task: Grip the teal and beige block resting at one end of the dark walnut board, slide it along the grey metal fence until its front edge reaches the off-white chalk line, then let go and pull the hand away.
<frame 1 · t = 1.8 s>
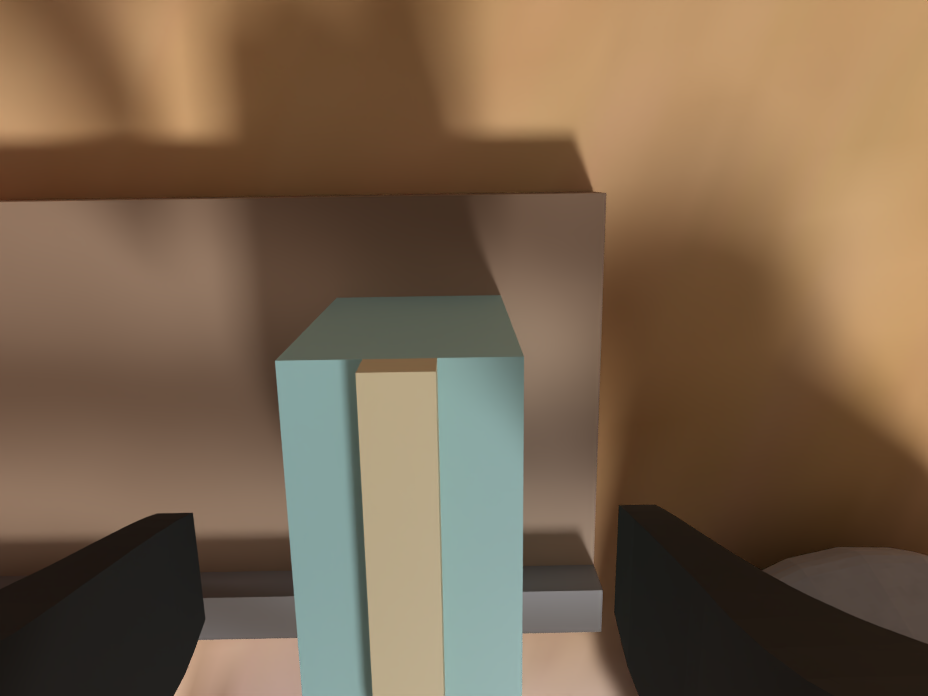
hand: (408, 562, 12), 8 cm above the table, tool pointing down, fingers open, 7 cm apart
board: (170, 402, 19), on the table
teal and beige block: (422, 431, 18), point 1 cm above the table, touching board
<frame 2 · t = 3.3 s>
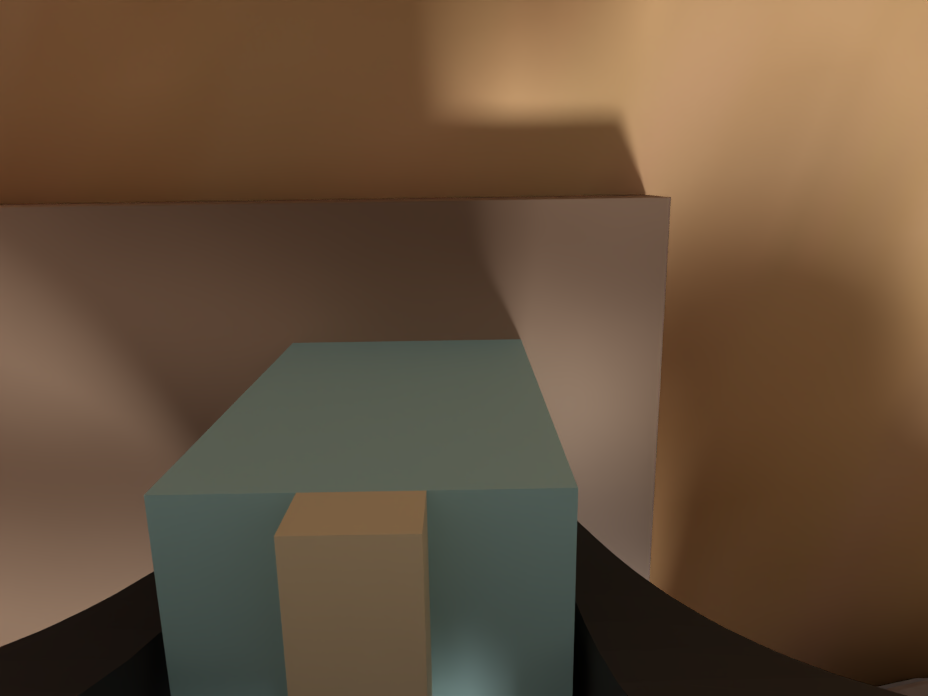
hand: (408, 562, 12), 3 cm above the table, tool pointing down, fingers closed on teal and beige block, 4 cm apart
board: (78, 475, 14), on the table
teal and beige block: (413, 522, 13), point 1 cm above the table, touching board, gripper
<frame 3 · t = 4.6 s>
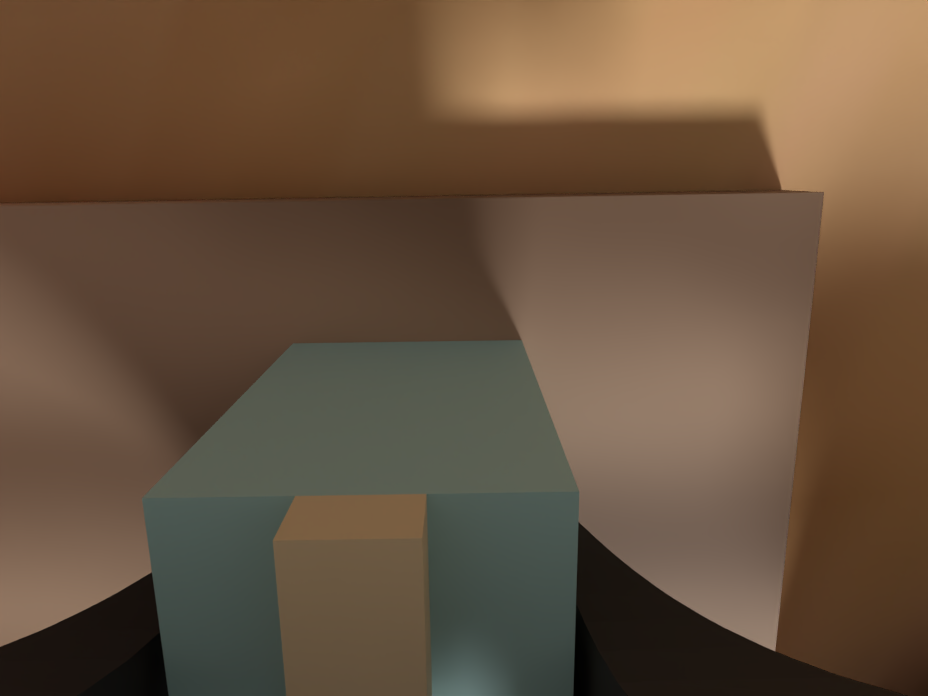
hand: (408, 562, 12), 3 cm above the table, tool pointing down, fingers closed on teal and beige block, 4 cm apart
board: (201, 472, 14), on the table
teal and beige block: (413, 523, 13), point 2 cm above the table, touching gripper
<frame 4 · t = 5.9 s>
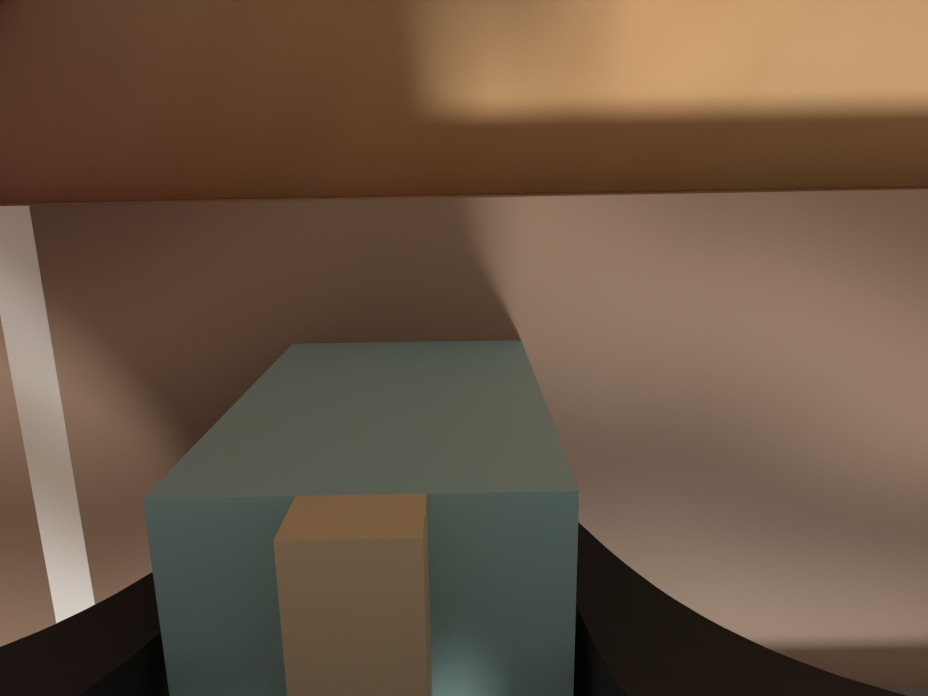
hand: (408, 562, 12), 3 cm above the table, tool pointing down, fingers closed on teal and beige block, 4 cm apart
board: (558, 465, 14), on the table
teal and beige block: (413, 523, 13), point 2 cm above the table, touching gripper
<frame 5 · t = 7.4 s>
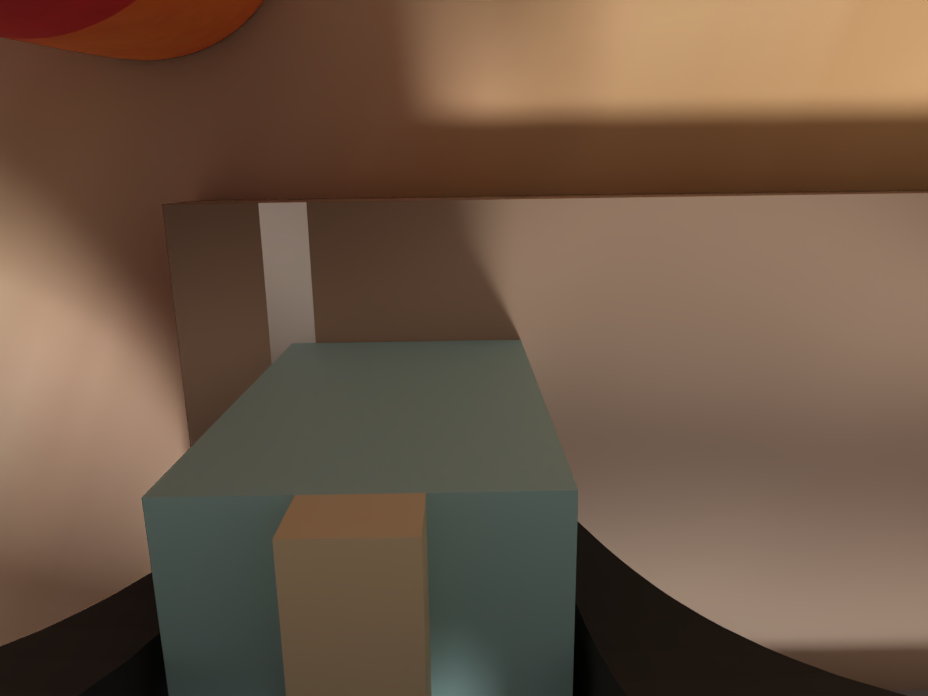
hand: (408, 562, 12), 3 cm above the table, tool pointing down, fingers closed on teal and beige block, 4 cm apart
board: (778, 463, 14), on the table
teal and beige block: (413, 523, 13), point 2 cm above the table, touching gripper
when the fingers open (3 cm above the table, at t = 8.5 s): teal and beige block stays where it is, resting on board.
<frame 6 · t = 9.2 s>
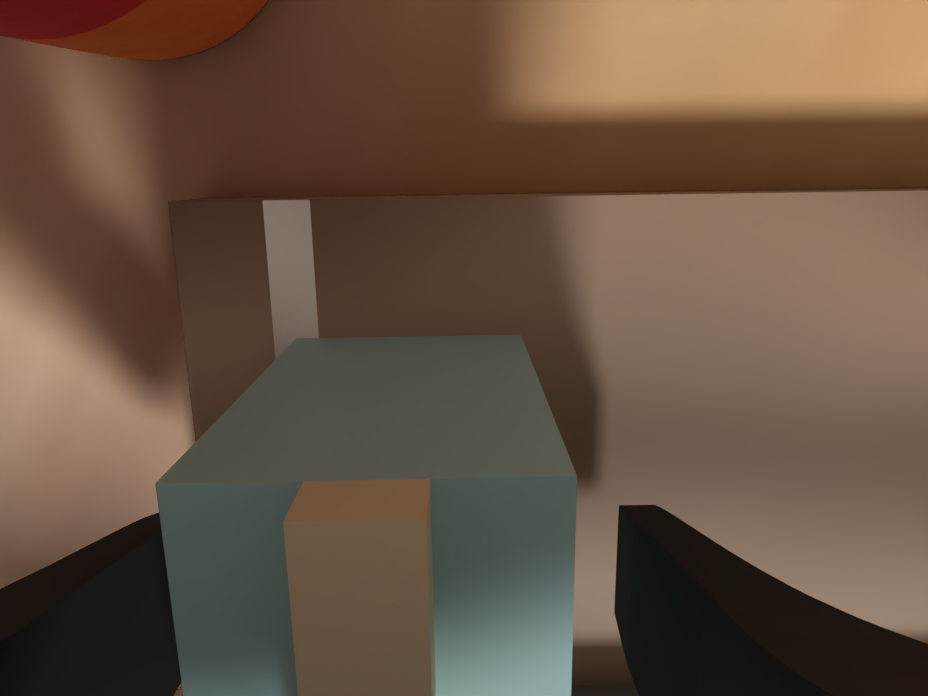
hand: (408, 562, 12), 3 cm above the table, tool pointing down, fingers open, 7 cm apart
board: (774, 457, 15), on the table
teal and beige block: (414, 515, 13), point 2 cm above the table, touching board
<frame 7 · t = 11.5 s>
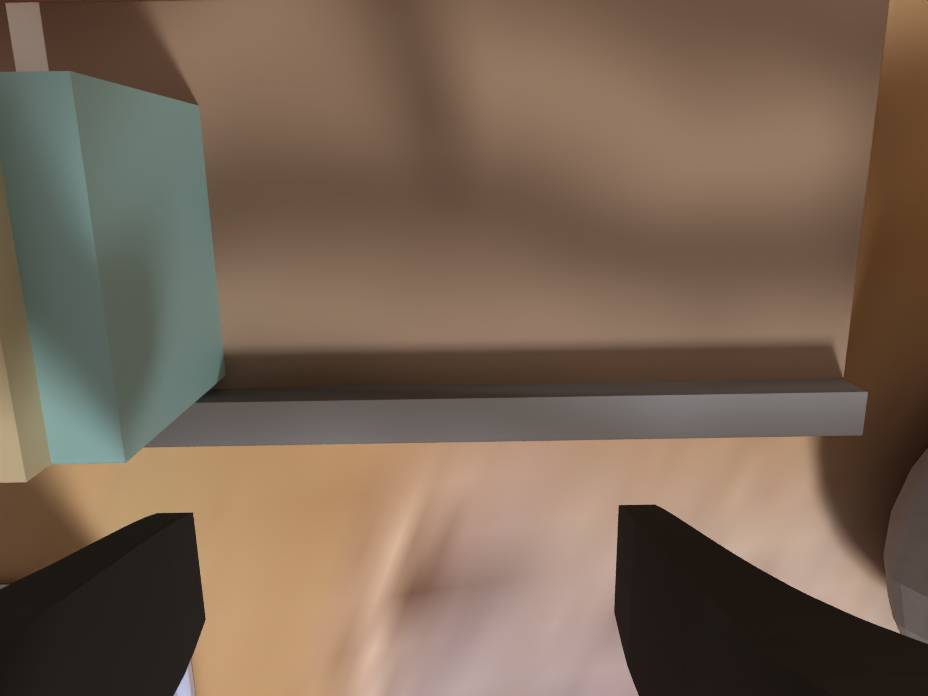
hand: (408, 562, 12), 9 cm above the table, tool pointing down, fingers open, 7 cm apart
board: (425, 223, 20), on the table
teal and beige block: (136, 247, 18), point 2 cm above the table, touching board
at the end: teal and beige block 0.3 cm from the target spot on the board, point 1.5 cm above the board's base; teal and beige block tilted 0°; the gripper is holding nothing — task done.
